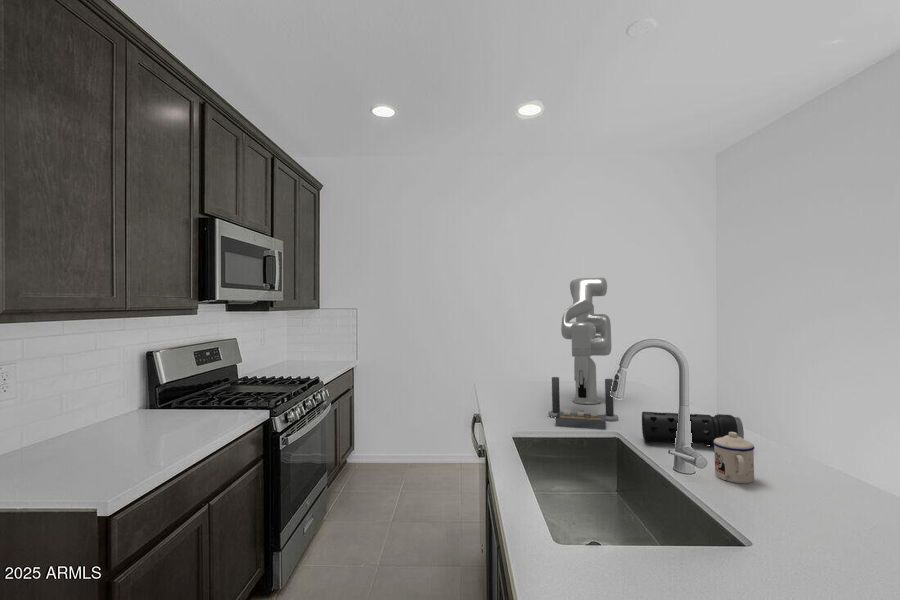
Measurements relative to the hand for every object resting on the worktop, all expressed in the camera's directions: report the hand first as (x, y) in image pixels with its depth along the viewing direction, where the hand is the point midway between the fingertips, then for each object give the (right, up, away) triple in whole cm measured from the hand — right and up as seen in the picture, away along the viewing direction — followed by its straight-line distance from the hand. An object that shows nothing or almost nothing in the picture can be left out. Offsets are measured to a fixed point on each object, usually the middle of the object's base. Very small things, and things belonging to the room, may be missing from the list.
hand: (582, 397), depth 185 cm
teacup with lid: (+19, -6, -70) cm, 72 cm away
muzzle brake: (+23, -7, -40) cm, 47 cm away
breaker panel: (-4, -8, -12) cm, 15 cm away
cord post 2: (+9, -8, -6) cm, 13 cm away
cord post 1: (-10, -8, +1) cm, 13 cm away
